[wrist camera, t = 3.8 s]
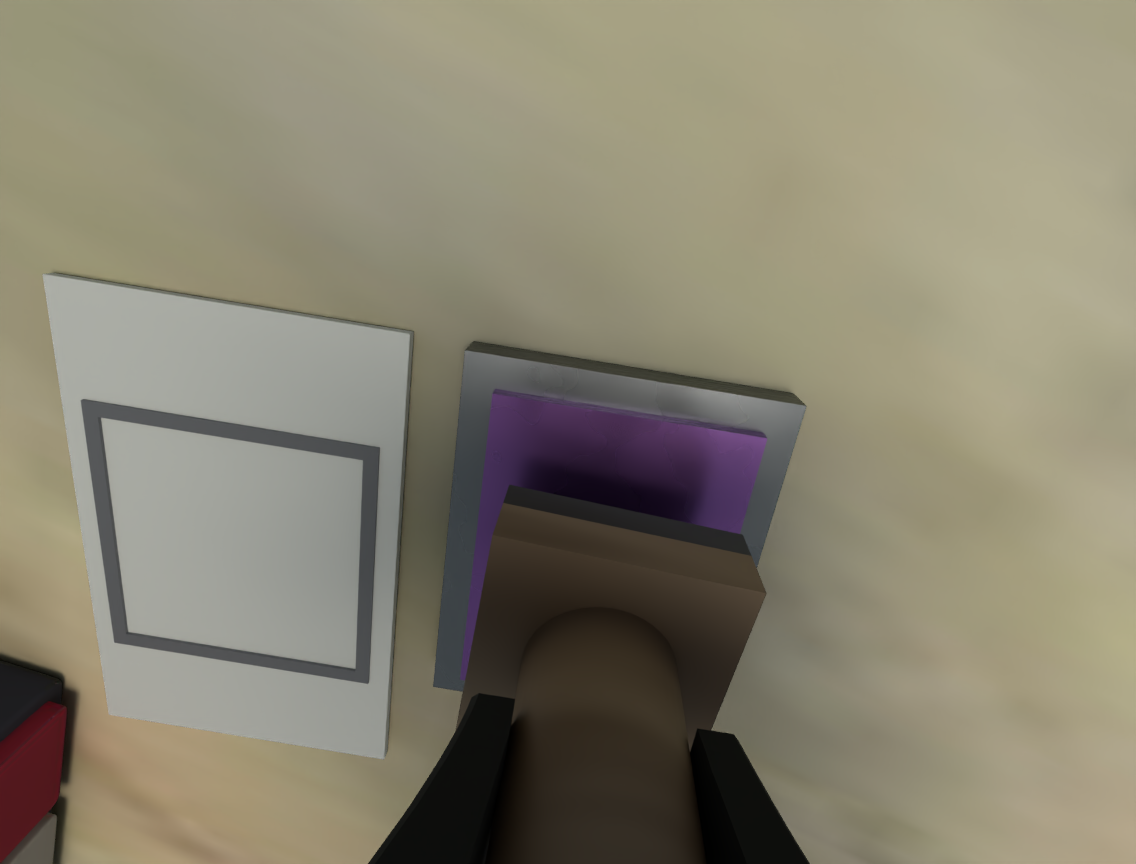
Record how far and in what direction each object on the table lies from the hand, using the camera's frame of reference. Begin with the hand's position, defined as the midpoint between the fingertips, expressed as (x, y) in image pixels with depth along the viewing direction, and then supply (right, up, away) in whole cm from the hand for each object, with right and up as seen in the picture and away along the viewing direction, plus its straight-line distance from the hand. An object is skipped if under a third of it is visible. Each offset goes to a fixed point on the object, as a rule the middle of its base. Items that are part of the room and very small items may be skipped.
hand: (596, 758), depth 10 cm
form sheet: (-10, +2, +7) cm, 12 cm away
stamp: (0, +2, +4) cm, 4 cm away
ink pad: (0, +2, +7) cm, 7 cm away
